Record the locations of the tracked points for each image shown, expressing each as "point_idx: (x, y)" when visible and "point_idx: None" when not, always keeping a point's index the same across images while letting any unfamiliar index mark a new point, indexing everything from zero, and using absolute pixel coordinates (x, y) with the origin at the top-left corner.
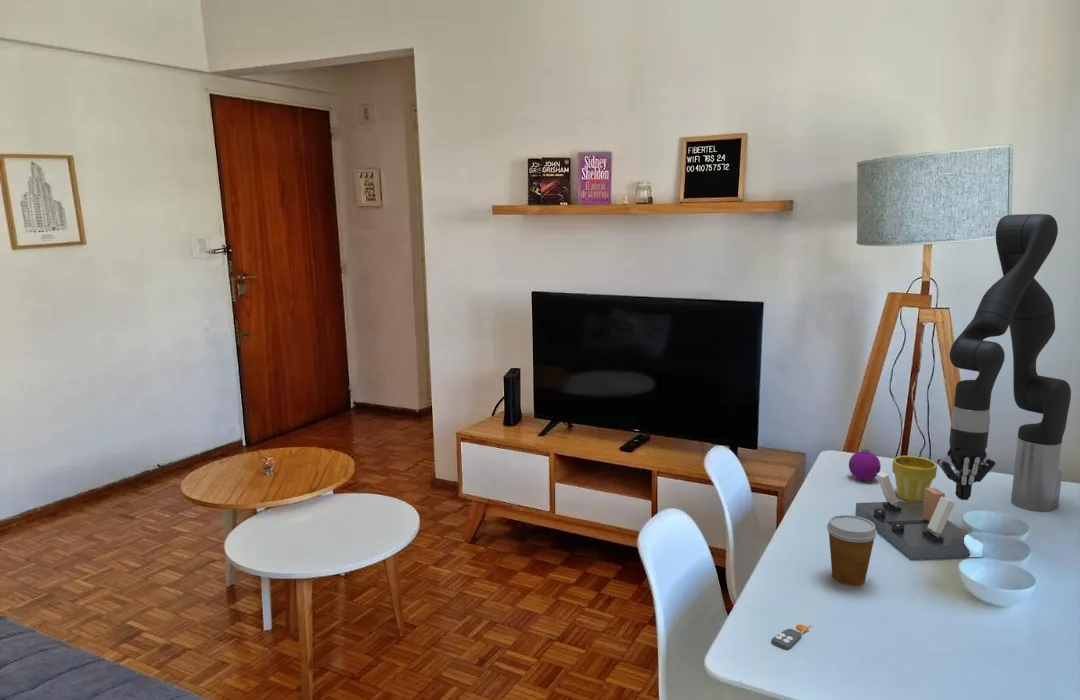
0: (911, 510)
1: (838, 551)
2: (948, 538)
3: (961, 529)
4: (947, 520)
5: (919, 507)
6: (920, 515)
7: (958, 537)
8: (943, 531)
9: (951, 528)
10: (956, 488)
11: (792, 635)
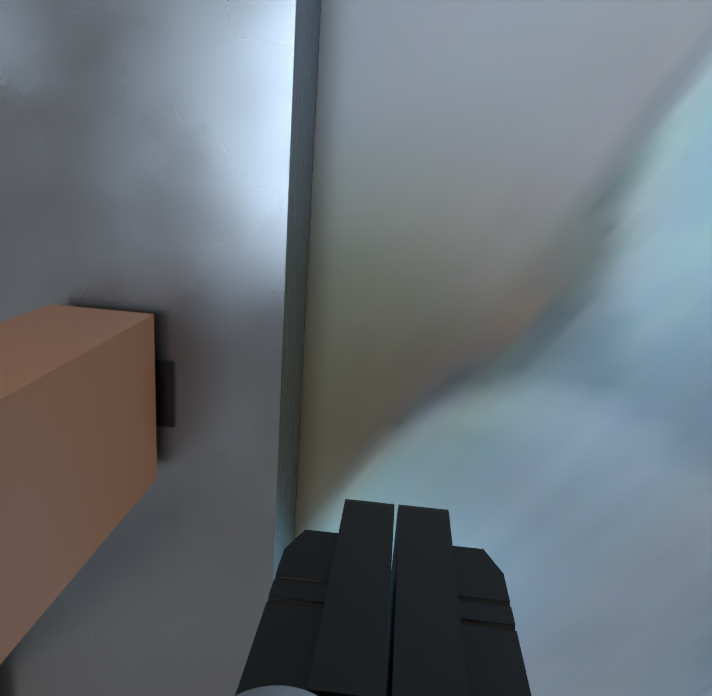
0: (45, 82)
1: None
2: (62, 689)
3: (269, 584)
4: (272, 394)
5: (185, 1)
6: (74, 233)
7: (150, 690)
8: (94, 583)
9: (196, 550)
10: (261, 634)
11: None
